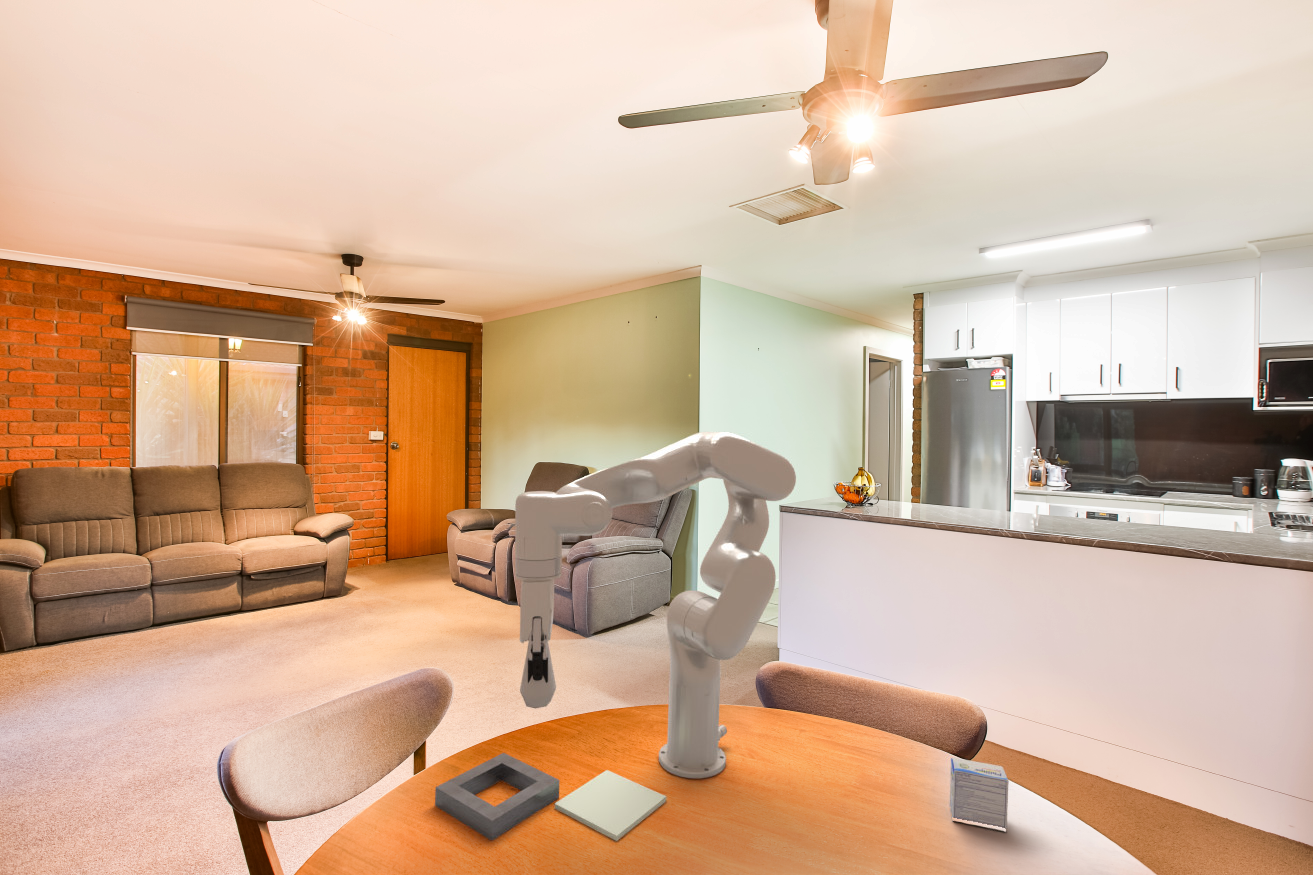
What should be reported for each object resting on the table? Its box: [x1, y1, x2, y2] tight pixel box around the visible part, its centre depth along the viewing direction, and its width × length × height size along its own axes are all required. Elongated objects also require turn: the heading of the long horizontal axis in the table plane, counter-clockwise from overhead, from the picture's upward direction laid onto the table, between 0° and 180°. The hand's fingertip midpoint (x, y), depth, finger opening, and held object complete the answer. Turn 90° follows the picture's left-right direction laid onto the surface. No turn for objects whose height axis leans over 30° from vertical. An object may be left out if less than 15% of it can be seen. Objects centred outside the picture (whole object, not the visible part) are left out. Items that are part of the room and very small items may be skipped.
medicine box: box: [949, 757, 1010, 830], centre depth 101 cm, size 8×4×9 cm, turn 71°
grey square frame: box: [434, 752, 560, 841], centre depth 102 cm, size 14×14×3 cm
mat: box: [554, 769, 667, 842], centre depth 102 cm, size 13×13×1 cm
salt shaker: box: [519, 622, 557, 709], centre depth 102 cm, size 6×6×13 cm
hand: (538, 677), depth 102 cm, fingers closed on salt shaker, 3 cm apart
